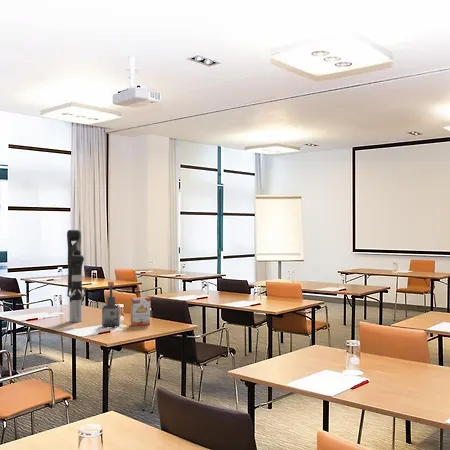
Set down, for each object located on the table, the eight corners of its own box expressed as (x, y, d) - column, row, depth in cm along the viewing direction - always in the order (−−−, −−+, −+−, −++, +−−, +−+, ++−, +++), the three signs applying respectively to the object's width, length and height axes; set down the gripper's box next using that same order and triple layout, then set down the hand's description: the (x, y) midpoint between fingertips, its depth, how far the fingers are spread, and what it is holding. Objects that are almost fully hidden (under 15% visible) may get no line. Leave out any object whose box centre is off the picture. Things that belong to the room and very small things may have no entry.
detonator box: (101, 325, 406) (101, 296, 406) (118, 324, 410) (118, 295, 410) (103, 329, 389) (103, 299, 390) (121, 328, 394) (121, 298, 394)
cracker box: (132, 326, 400) (132, 298, 401) (130, 325, 406) (130, 297, 406) (150, 324, 407) (150, 297, 407) (147, 323, 412) (147, 296, 412)
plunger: (107, 297, 403) (107, 281, 404) (113, 297, 405) (113, 281, 405) (108, 298, 399) (108, 282, 399) (114, 297, 401) (114, 281, 401)
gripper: (85, 280, 417) (85, 301, 416) (67, 281, 412) (67, 302, 411) (86, 280, 410) (86, 301, 409) (67, 281, 405) (67, 302, 404)
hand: (76, 301), depth 410 cm, fingers open, 8 cm apart
